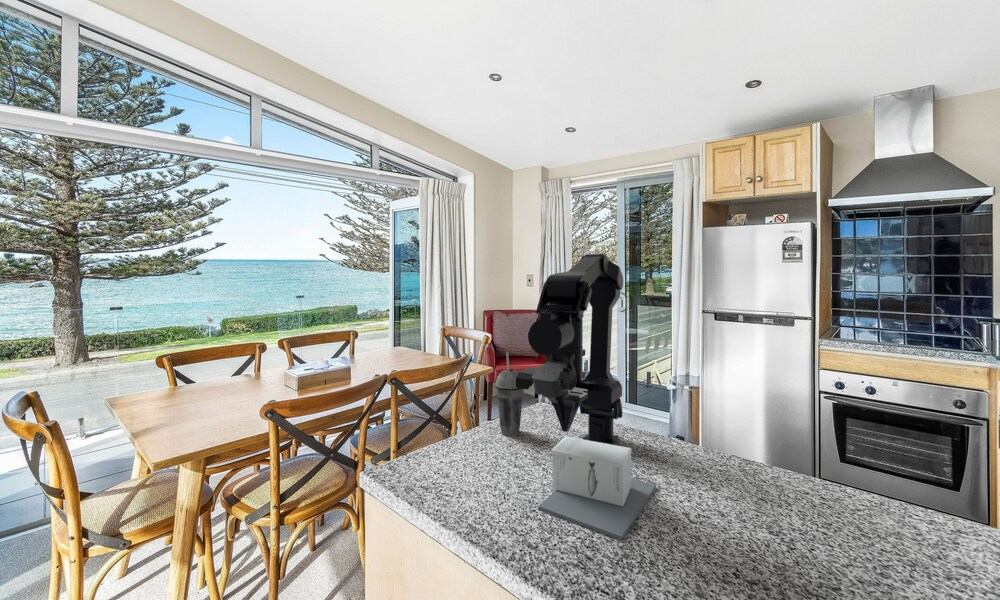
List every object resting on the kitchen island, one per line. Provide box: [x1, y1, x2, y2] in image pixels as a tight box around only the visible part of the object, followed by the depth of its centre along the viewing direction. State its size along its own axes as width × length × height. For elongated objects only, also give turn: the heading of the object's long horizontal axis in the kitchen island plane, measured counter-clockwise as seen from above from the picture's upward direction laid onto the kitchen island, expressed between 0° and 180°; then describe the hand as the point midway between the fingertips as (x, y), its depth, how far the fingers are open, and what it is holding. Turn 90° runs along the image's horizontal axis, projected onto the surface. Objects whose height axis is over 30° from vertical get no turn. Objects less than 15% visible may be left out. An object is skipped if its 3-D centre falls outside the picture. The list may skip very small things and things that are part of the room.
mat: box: [537, 477, 657, 541], centre depth 72 cm, size 18×14×1 cm
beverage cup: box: [494, 351, 525, 437], centre depth 102 cm, size 7×7×20 cm
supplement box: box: [551, 435, 632, 506], centre depth 74 cm, size 7×7×13 cm
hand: (565, 430), depth 75 cm, fingers closed
